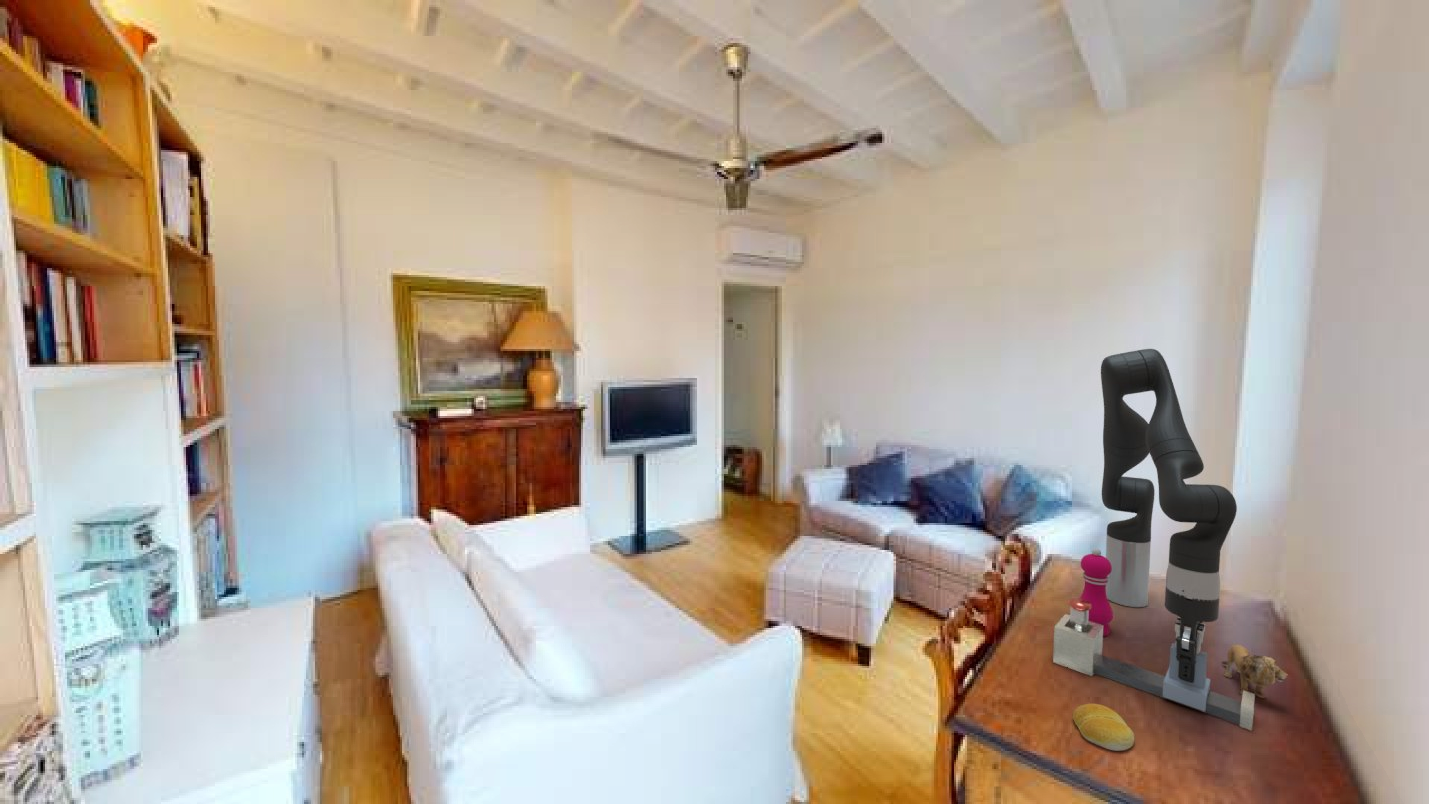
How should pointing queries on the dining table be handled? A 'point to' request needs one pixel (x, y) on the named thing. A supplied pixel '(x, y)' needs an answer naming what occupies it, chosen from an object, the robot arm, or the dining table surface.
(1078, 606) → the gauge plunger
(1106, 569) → the pepper mill
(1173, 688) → the carriage
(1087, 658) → the rail station
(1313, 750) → the dining table surface
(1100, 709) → the bread roll
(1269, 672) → the lion figurine
